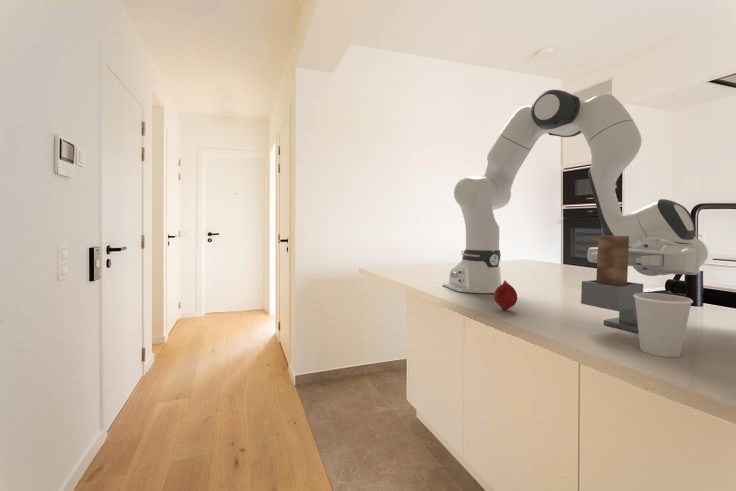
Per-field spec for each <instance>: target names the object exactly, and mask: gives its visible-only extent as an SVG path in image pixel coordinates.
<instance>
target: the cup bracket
mask: <svg viewBox="0 0 736 491" xmlns="http://www.w3.org/2000/svg"><path fill="white" fill-rule="evenodd" d="M636 293H644V284H643V283H638V282H630V281H627V285H621V286H615V285H608V284H602V283H596V279H591V280H582V281H581V293H580V294H581V295H580V298H581V299H580V304H581V305H585V306H591V307H595V308H600V309H606V310H609V311H614V312H619V314H618V317H612V318H608V319H603V325H605V326H609V327H614V328H618V329H621V330H626V331H630V332H633V333H638V334H639V331H638V322H637V313H636V303H635V298H634V296H633V295H634V294H636Z"/></svg>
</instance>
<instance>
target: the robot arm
mask: <svg viewBox="0 0 736 491" xmlns="http://www.w3.org/2000/svg"><path fill="white" fill-rule="evenodd" d="M546 134H548V135H549V136H554V137H555V136H556V137H561V138H573V137H576V136H578V135H581V134H582V135H583V137H584V138H585V141H586V142H587V144H588V147H589V149H590V155H591V162H590V163H591V164H590V167H589V169H588V172H587V173H588V180H589V186H590V189H591V194H592V196H593V199H594V203H595V207H596V210H597V211H596V212H597V214H598V217H599V221H600V225H601V236H629V250H628V267H632V268H633V269H634V270H635V271H636V272H638V273H639V274H641V275H643V276H646V277H647V276H648V277H658V276H668V275H669V276H670V275H682V276H683V275H685V276H687V275H689V276H693V275H694V276H695V275H698V274H699V270H700V267H702V266H703V265H704V264H705V262H706V261H707V259H708V255H709V252H708V248H707V246H706V245H705V243H704V242H703V241H701V240H700V239H699V238H697V237H696V229H697V228H696V225H695V221H694V218H693V216H692V215H691V213H690V212H689V211H688V209H687V208H686V207H685V206H684V205H682V204H680V203H678V202H676V201H673V200H670V199H665V198H661V199H659V200H656V201H654V202H652V203H651V202H650V203H649V204H647V205H644V206H642V207H640V208H639V209H636V210H634V211H632V212H630V213H628V214H625V215H623V212H622V210H621V206H620V202H619V200H618V197H617V192H616V184H617V181H618V179H619V177H620V176H621V174H623V172H624V171H625V169H626V168H627V167H628V166H629V165H630V164H631V163H632V161H634V159H635V158H636V157H637V155H638V153H639V151H640V150H641V146H642V141H643V140H642V136H641V133H640V130H639V128H638V127H637V124H636V123H635V121H634V119H633V118H632V116H631V115H630V113H629V111H628V110H627V109H626V108H625V107H624V105H623V104H622V103H621V102H620V100H618V99H617V97H615V96H614V95H612V94H608V93H601V94H599V95H596V96H593V97H591V98H589V99H587V100H585V101H582V100H581V99H580V97H579V96H577V95H575V94H572V93H570V92H568V91H565V90H560V89H549V90H546V91H543V92H541V93H540V94H539V95H538V96H537V97H536V98H535V99H534V101H533V103H532V105H525V106H521V107H519V108H518V109H517V110H516V111H515V112H514V113H513V114H512V115H511V117H510V118H509V120H508V121H507V122H506V124H505V125H504V127H503V128H502V130H501V131H500V133H499V134H498V137H497V138H496V140H495V141H494V143H493V145H492V147H491V148H490V149H489V151H488V153H487V155H486V156H487V158H486V160H487V167H486V168H485V172H484V174H483V176H478V175H471V176H466V177H463V178H461V179H459V181H458V182H457V183H456V184H455V186H454V190H453V198H454V200H455V201H456V203H457V204H458V206H459V207H460V209H461V213H462V216H463V220H464V221H463V222H464V225H465V249H464V250H462V251H460V255H462V258H461V259H462V260H460V262H458V263H457V264H456V265H455V266H453V267H452V268H451V269H450V272H449V278H448V279H449V280H448V281H446V282H443V283H442V286H443V287H446V288H449V289H451V290H454V291H457V292H460V293H475V294H495V291H496V289H497V288H498V287H499V286H500V285H502V284H503V282H502V272H501V266H500V261H501V256H502V254H501V250H500V227H499V224H498V222H497V220H496V217H495V214H494V211H496V210H498V209H502V208H504V207H505V206H507V205H508V204H509V202H510V200H511V197H512V192H511V191H512V187H513V184H514V182H515V178H516V176H517V175H518V172H519V170H520V169H521V166H522V165H523V164H524V162H525V160H526V159H527V157H528V156H529V154H530V152H531V150H532V149H533V148H534V146H535V144H536V143H537V141H538V140H539V139H540V138H541V137H542V136H543V135H546ZM597 251H598V246H596V247H595V246H593V247H591V246H590V247H589V248H588V249H587V261H588V263H589V262H590V263H596V264H597Z"/></svg>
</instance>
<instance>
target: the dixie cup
mask: <svg viewBox="0 0 736 491" xmlns="http://www.w3.org/2000/svg"><path fill="white" fill-rule="evenodd" d="M633 296H634V298H635V303H636V313H637V322H638V331H639V333H638V339H639V348H640V350H641V352H644V353H647V354H650V355H653V356H658V357H664V358H678V357H680V356H681V353H682V349H683V343H684V339H685V334H686V330H687V325H688V320H689V316H690V311H691V307H692V304H693V303H694V300H693V299H691V298H690V297H686V296H682V295H675V294H670V293H661V292H660V293H657V292H643V293H636V294H634V295H633Z"/></svg>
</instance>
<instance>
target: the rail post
mask: <svg viewBox="0 0 736 491" xmlns="http://www.w3.org/2000/svg"><path fill="white" fill-rule="evenodd" d="M597 247H598V251H597V263H596V279H595V280H596V283H602V284H608V285H615V286H621V285H627V282H628V275H629V274H628V271H629V266H628V250H629V236H602V235H597Z"/></svg>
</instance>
